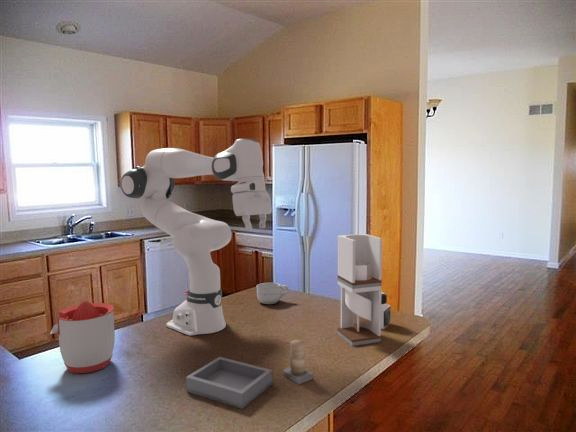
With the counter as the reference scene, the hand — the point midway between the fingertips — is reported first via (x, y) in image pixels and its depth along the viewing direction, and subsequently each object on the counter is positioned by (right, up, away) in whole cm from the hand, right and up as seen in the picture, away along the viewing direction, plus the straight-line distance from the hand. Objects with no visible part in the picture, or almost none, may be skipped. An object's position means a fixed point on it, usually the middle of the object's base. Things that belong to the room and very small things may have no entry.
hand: (256, 228), depth 144 cm
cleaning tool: (+13, -41, -21) cm, 48 cm away
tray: (-5, -42, -27) cm, 50 cm away
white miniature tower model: (+35, -38, +7) cm, 52 cm away
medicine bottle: (+44, -36, +19) cm, 60 cm away
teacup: (+4, -34, +47) cm, 58 cm away
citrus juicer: (-50, -41, -13) cm, 66 cm away
